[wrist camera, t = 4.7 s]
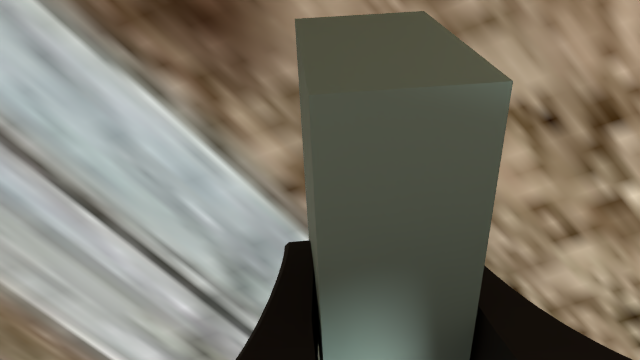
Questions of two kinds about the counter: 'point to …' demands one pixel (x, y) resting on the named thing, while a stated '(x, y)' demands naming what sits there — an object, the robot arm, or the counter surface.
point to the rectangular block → (397, 182)
